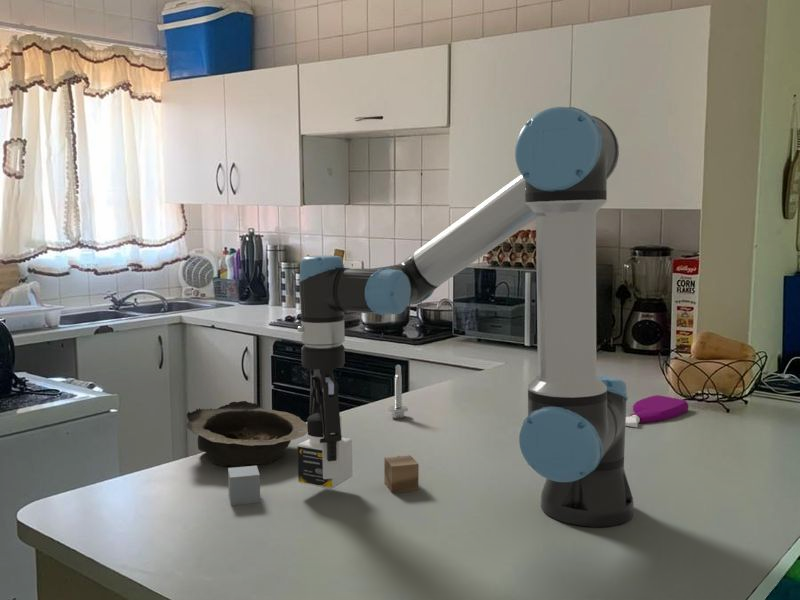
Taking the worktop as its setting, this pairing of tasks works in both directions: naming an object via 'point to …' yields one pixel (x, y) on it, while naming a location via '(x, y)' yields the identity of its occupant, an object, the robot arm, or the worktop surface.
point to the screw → (398, 396)
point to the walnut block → (401, 474)
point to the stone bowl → (244, 433)
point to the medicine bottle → (313, 459)
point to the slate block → (244, 485)
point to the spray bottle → (656, 410)
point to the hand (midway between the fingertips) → (325, 468)
